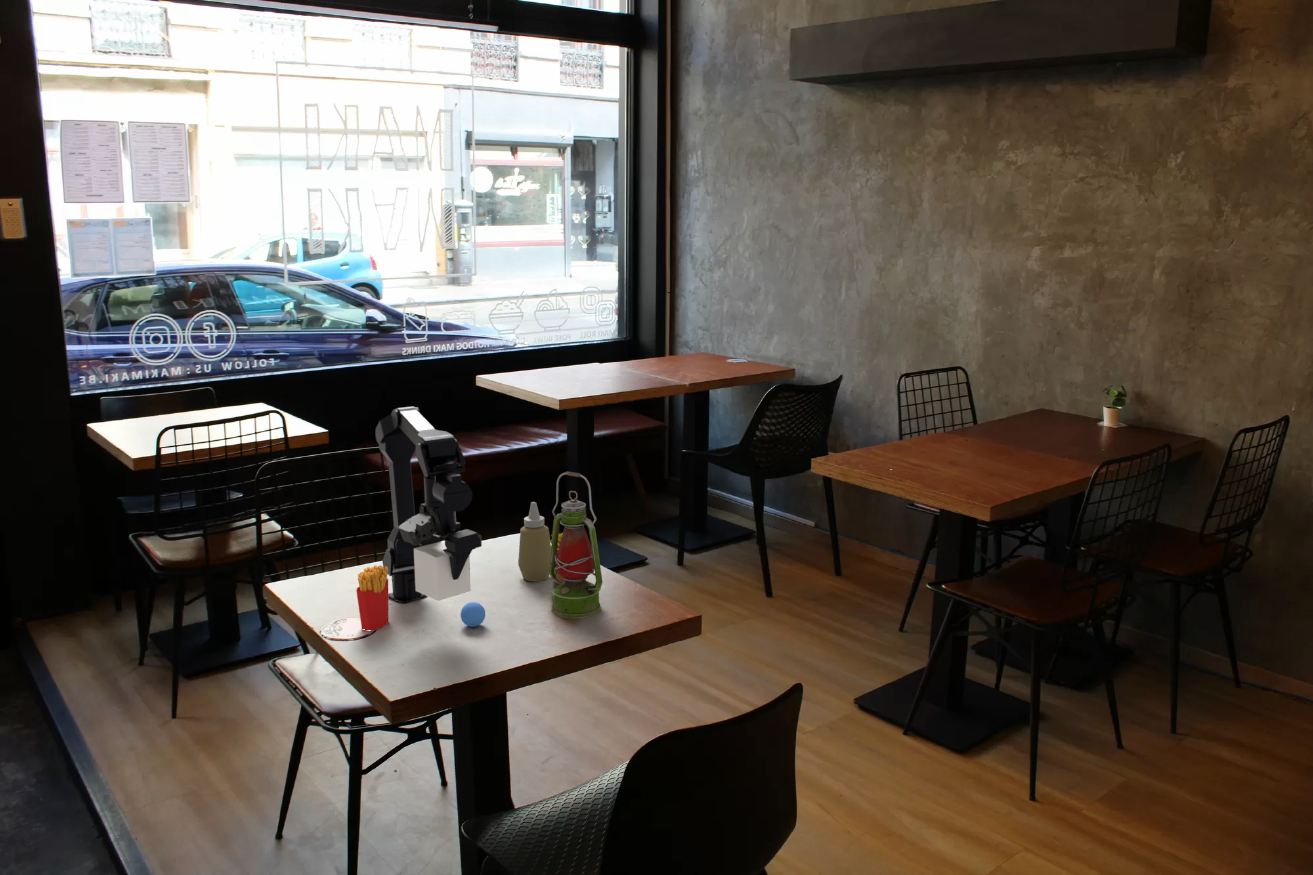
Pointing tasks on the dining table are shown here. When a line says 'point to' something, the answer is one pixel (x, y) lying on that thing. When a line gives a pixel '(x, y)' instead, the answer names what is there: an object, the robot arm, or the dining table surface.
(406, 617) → the dining table surface
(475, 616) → the ball
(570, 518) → the lantern
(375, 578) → the french fries
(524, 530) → the squeeze bottle
